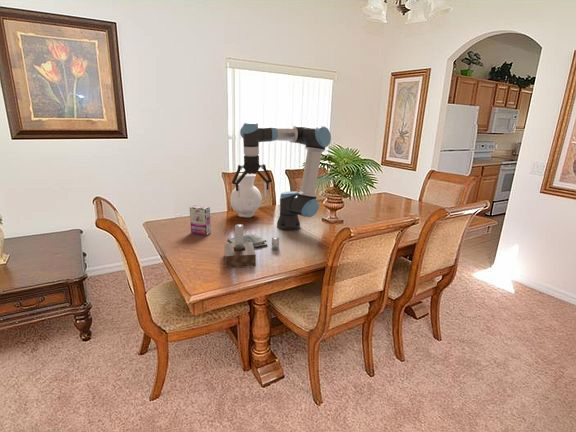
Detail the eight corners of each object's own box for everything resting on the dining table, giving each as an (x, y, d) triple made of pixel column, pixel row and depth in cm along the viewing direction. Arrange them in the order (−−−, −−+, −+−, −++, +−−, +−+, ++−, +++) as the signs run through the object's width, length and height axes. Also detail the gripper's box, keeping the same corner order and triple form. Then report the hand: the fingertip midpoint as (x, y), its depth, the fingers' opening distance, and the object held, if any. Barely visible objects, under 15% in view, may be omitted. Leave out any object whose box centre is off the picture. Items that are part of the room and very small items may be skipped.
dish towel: (226, 241, 190) (226, 236, 189) (255, 236, 198) (255, 231, 198) (238, 252, 174) (238, 247, 174) (269, 247, 183) (269, 241, 182)
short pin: (278, 247, 182) (278, 237, 180) (279, 250, 178) (279, 239, 177) (271, 247, 181) (271, 237, 180) (272, 250, 178) (272, 239, 176)
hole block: (252, 253, 173) (252, 242, 172) (255, 266, 158) (255, 254, 157) (224, 254, 170) (224, 243, 169) (225, 268, 156) (225, 256, 154)
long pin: (243, 258, 167) (243, 224, 162) (244, 261, 163) (243, 226, 158) (235, 258, 166) (234, 224, 161) (235, 262, 162) (235, 227, 157)
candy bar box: (211, 233, 200) (210, 207, 195) (206, 236, 196) (205, 209, 191) (195, 230, 204) (194, 204, 199) (190, 233, 199) (189, 206, 194)
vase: (265, 217, 235) (266, 175, 227) (238, 221, 224) (237, 177, 215) (253, 210, 250) (253, 171, 241) (226, 214, 238) (225, 173, 230)
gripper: (274, 153, 172) (274, 193, 178) (225, 154, 166) (227, 195, 173) (277, 155, 165) (277, 196, 171) (226, 156, 159) (228, 199, 166)
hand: (252, 196), depth 172 cm, fingers open, 13 cm apart
